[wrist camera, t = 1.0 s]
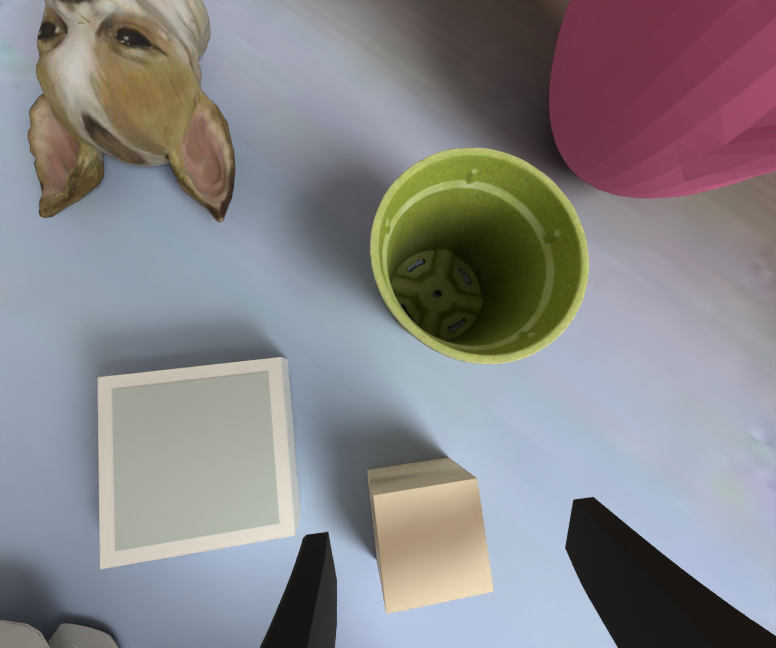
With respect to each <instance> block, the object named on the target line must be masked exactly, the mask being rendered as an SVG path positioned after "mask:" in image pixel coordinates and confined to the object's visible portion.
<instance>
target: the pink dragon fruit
mask: <svg viewBox="0 0 776 648" xmlns="http://www.w3.org/2000/svg"><path fill="white" fill-rule="evenodd" d="M549 113H550V121H551V128H552V132H553V136H554V139H555V142H556V146H557V148H558V150H559V152H560V154H561V156H562V158H563V159H564V161H565V162H566V164H567V165H568V166H569V168H570V169H571V170H572V171H573V172H574V173H575V174H576V175H577V176H578V177H579V178H581V179H582V180H583V181H585V182H586V183H588V184H590V185H591V186H593V187H595V188H597V189H600V190H602V191H605V192H608V193H611V194H614V195H620V196H626V197H632V198H665V197H677V196H684V195H690V194H695V193H700V192H704V191H708V190H712V189H716V188H719V187H723V186H726V185H730V184H733V183H737V182H740V181H744V180H746V179H749V178H751V177H755V176H759V175H763V174H766V173H770V172H774V171H776V0H570V1H569V4H568V7H567V10H566V13H565V16H564V19H563V22H562V25H561V28H560V32H559V35H558V39H557V43H556V48H555V53H554V58H553V64H552V70H551V76H550V85H549Z"/></svg>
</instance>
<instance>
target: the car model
mask: <svg viewBox="0 0 776 648" xmlns="http://www.w3.org/2000/svg"><path fill="white" fill-rule="evenodd" d="M0 648H118V646H117V644H116V643H115V641H114V640H113V638H112V637H111V636H110V634H108V633H106V632H103V631H99V630H96V629H93V628H89V627H86V626H83V625H75V624H67V623H62V624H61V625H60V626H59V627H58V629H57V630H56V631H55V633H54V634H53V635H52V637H51V638H50V639H49V641H48V639H47V638H45V637H44V636H43V635H42V634H41V632H40V631H39V630H37V629H35V628H33V627H32V626H30V625H28V624H26V623H19V622H12V621H6V620H0Z"/></svg>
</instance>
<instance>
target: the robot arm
mask: <svg viewBox="0 0 776 648" xmlns="http://www.w3.org/2000/svg"><path fill="white" fill-rule="evenodd" d="M565 549H566V551H567V553H568V555H569V558H570V560H571V562H572V565H573V567H574V569H575V571H576V573H577V575H578V578H579V580H580V582H581V584H582V586H583V588H584V590H585V592H586V593H587V595H588V597H589V599H590V601H591V602H592V604H593V606H594V607H595V609H596V611H597V613H598V614H599V616H600V618H601V620H602V621H603V623H604V625H605V626H606V628H607V630H608V632H609V633H610V635H611V637H612V638H613V640H614V642H615V644H616V645H617V647H618V648H776V636H775V635H774V634H772V633H771V632H769V631H768V630H766V629H765V628H763V627H762V626H760V625H759V624H757V623H756V622H754V621H753V620H751V619H750V618H748V617H747V616H745V615H744V614H743V613H741V612H740V611H738V610H737V609H735V608H734V607H733V606H731V605H730V604H728V603H727V602H726V601H724V600H723V599H722V598H720V597H719V596H717V595H716V594H715V593H713V592H712V591H711V590H709V589H708V588H707V587H705V586H704V585H702V584H701V583H700V582H698V581H697V580H696V579H694V578H693V577H692V576H691V575H689V574H688V573H687V572H685V571H684V570H683V569H681V568H680V567H679V566H678V565H676V564H675V563H674V562H672V561H671V560H670V559H669V558H667V557H666V556H665V555H664V554H662V553H661V552H660V551H658V550H657V549H656V548H655V547H654V546H652V545H651V544H650V543H649V542H647V541H646V540H645V539H644V538H642V537H641V536H640V535H639V534H638V533H636V532H635V531H634V530H633V529H631V528H630V527H629V526H628V525H627V524H625V523H624V522H623V521H622V520H621V519H619V518H618V517H617V516H616V515H615V514H613V513H612V512H611V511H610V510H609V509H607V508H606V507H605V506H604V505H602V504H601V503H600V502H599V501H598V500H596V499H595V498H594V497H590V498H582V499H575V500H573V505H572V511H571V517H570V523H569V529H568V535H567V541H566V547H565ZM336 627H337V578H336V573H335V567H334V561H333V556H332V550H331V545H330V539H329V533H328V532H324V533H316V534H309V535H306V536H305V537H304V538H303V540H302V544H301V547H300V550H299V553H298V556H297V559H296V562H295V565H294V568H293V571H292V573H291V576H290V578H289V581H288V584H287V586H286V589H285V591H284V594H283V596H282V599H281V601H280V603H279V606H278V608H277V610H276V613H275V615H274V617H273V620H272V622H271V624H270V627H269V629H268V631H267V633H266V636H265V638H264V640H263V642H262V644H261V646H260V648H335V639H336Z"/></svg>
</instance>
